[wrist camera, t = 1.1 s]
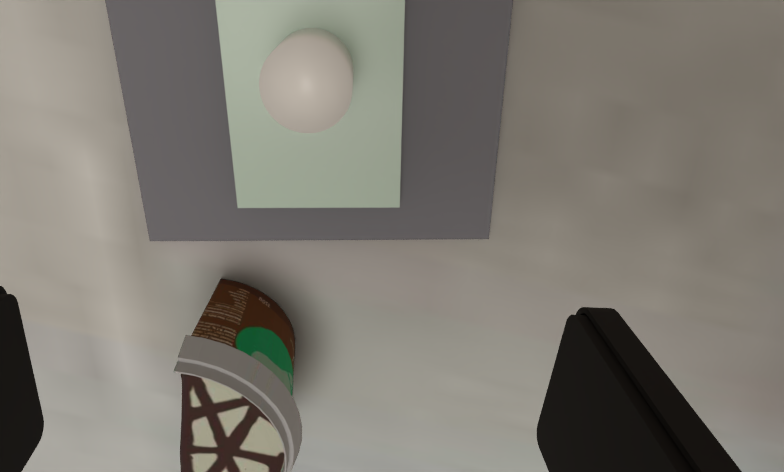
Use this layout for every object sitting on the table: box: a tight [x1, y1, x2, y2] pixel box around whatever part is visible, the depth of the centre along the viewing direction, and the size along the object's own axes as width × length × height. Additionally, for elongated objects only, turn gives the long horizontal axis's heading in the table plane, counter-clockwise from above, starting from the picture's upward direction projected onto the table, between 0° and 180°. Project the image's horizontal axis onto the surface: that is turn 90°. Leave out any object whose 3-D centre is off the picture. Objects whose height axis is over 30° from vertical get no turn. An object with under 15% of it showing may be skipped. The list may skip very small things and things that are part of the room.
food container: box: [174, 279, 302, 472], centre depth 33 cm, size 12×6×10 cm, turn 171°
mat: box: [105, 0, 513, 241], centre depth 30 cm, size 20×20×1 cm
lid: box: [215, 0, 405, 208], centre depth 27 cm, size 9×15×6 cm, turn 179°
